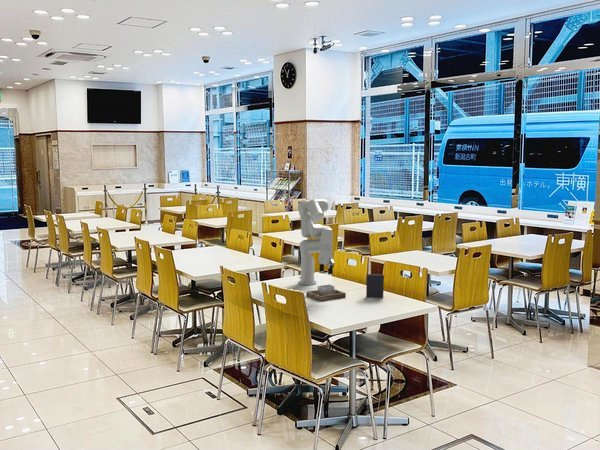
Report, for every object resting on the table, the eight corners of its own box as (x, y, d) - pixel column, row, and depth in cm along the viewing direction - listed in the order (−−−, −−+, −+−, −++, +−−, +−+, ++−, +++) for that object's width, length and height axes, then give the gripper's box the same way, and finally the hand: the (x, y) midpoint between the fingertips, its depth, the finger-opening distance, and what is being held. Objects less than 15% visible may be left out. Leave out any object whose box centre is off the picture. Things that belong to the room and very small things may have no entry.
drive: (317, 295, 379) (317, 286, 378) (329, 293, 384) (329, 284, 383) (321, 296, 375) (321, 287, 374) (334, 294, 380) (334, 285, 379)
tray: (306, 296, 381) (306, 290, 380) (331, 292, 391) (331, 286, 391) (320, 301, 367) (320, 295, 367) (345, 297, 378) (345, 291, 378)
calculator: (383, 296, 381) (383, 274, 379) (383, 298, 377) (383, 275, 375) (366, 296, 382) (366, 273, 380) (366, 297, 378) (366, 275, 376)
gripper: (314, 245, 381) (313, 270, 383) (329, 249, 366) (328, 276, 369) (323, 244, 385) (323, 269, 387) (339, 248, 370) (338, 274, 373)
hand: (325, 272), depth 378 cm, fingers open, 9 cm apart
